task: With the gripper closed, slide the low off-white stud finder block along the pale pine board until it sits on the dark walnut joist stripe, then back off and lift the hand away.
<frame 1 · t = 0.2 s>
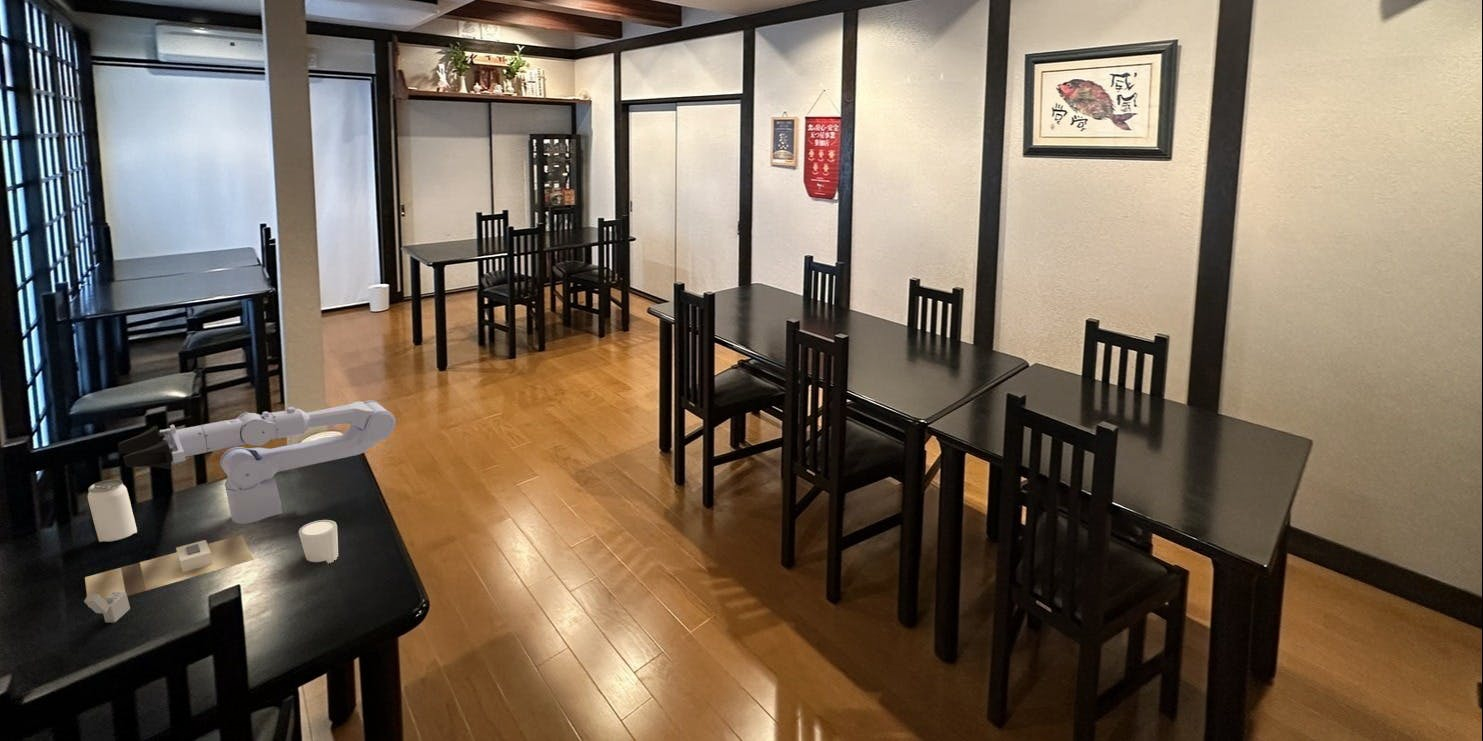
hand: (121, 455, 158), 21 cm above the table, tool horizontal, fingers open, 7 cm apart
lighter: (113, 626, 141), on the table
can: (118, 538, 169), on the table
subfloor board: (172, 572, 157), on the table
white cup: (322, 559, 163), on the table
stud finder: (195, 561, 159), point 1 cm above the table, touching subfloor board
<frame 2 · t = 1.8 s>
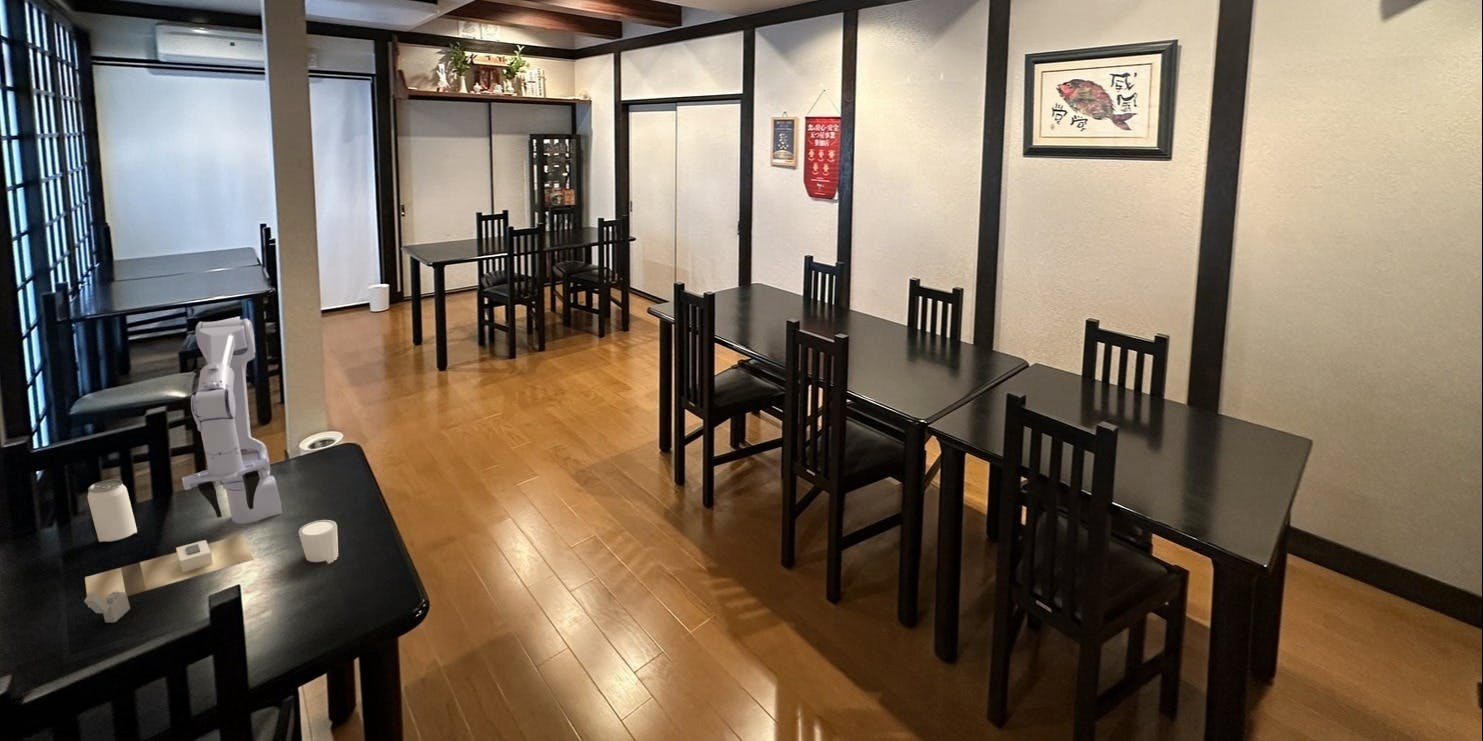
hand: (234, 511, 161), 9 cm above the table, tool pointing down, fingers open, 5 cm apart
nothing on the table moved.
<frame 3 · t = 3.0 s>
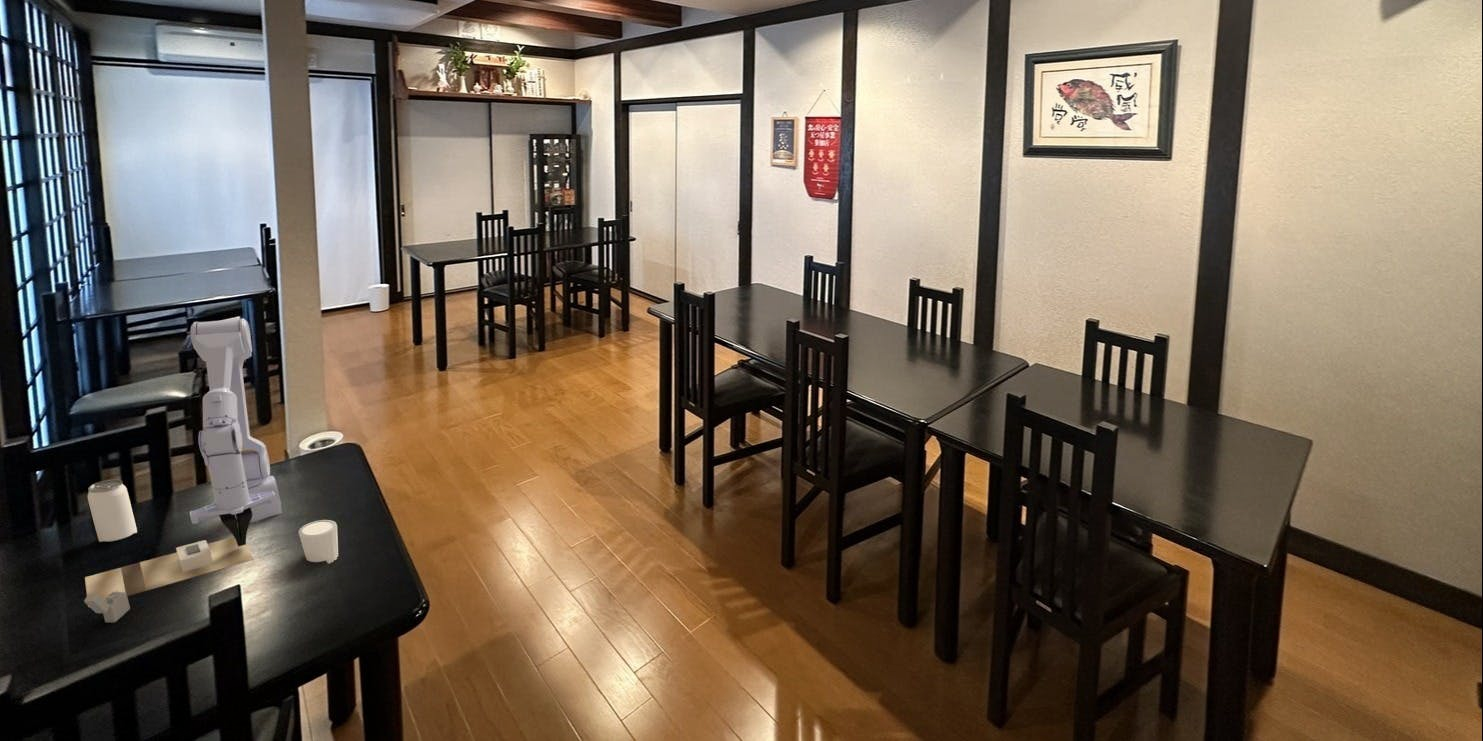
hand: (241, 543, 163), 2 cm above the table, tool pointing down, fingers closed
nothing on the table moved.
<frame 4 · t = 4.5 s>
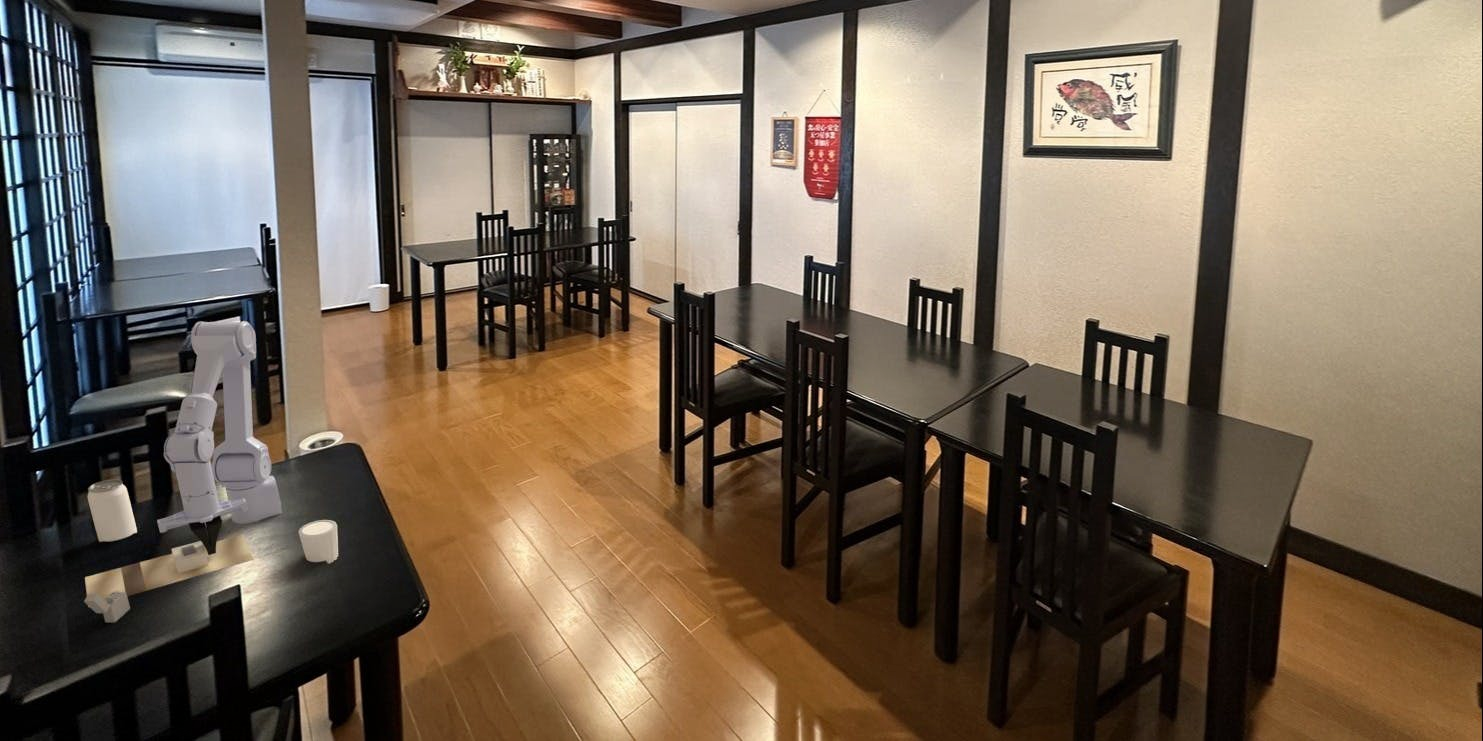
hand: (211, 552, 160), 2 cm above the table, tool pointing down, fingers closed
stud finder: (191, 562, 159), point 1 cm above the table, touching gripper
everything else where it was.
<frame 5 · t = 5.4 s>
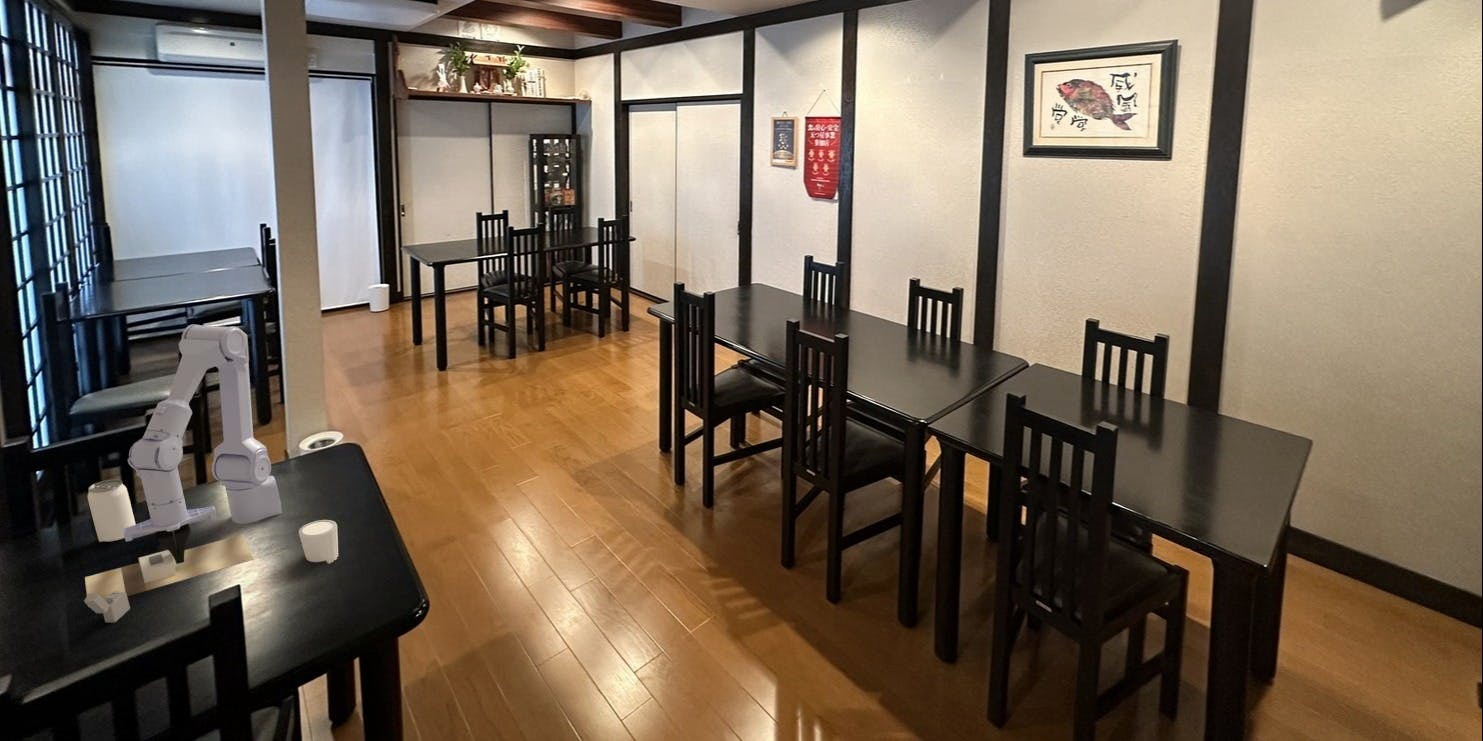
hand: (179, 560, 157), 2 cm above the table, tool pointing down, fingers closed
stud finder: (158, 571, 155), point 1 cm above the table, touching gripper, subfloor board
everything else where it was.
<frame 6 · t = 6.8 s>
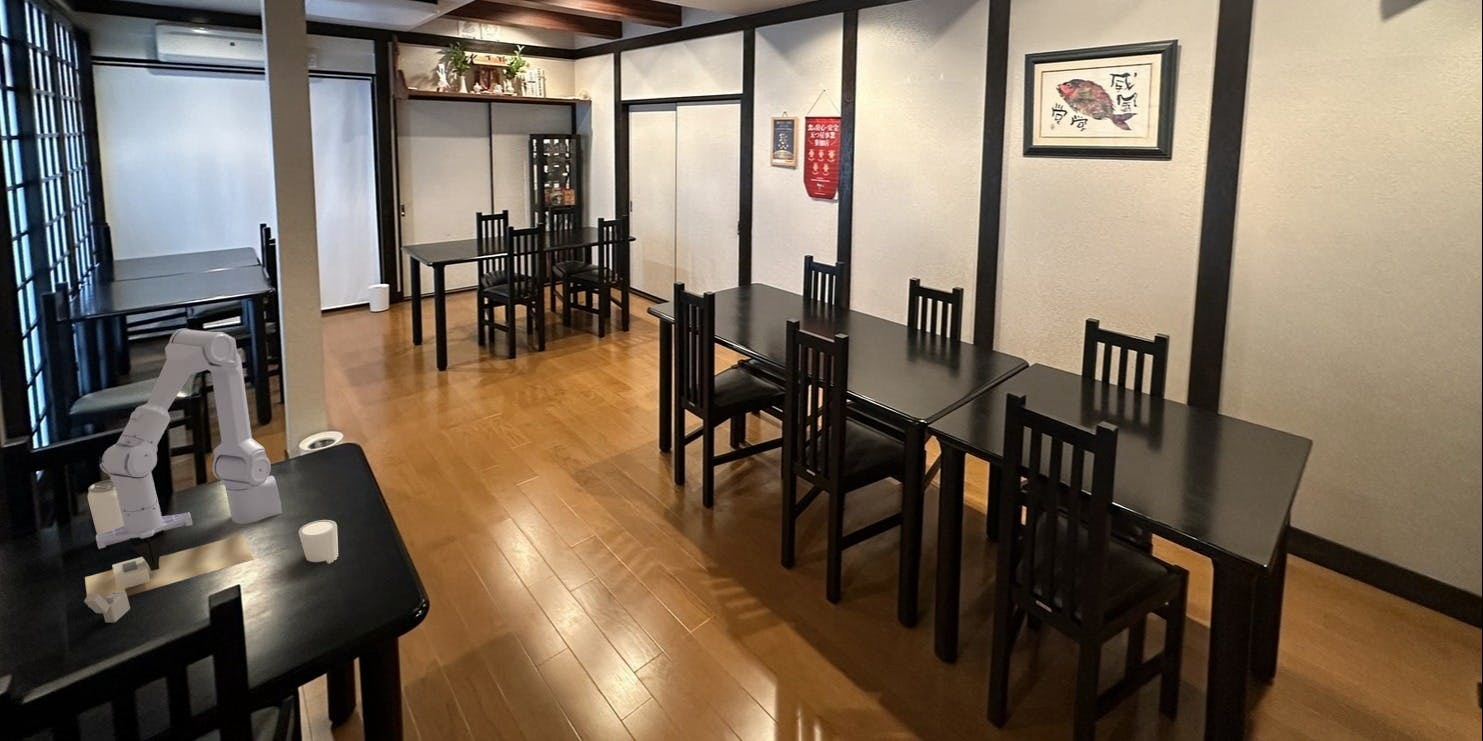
hand: (154, 567, 155), 2 cm above the table, tool pointing down, fingers closed
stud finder: (132, 578, 153), point 1 cm above the table, touching gripper, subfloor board
everything else where it was.
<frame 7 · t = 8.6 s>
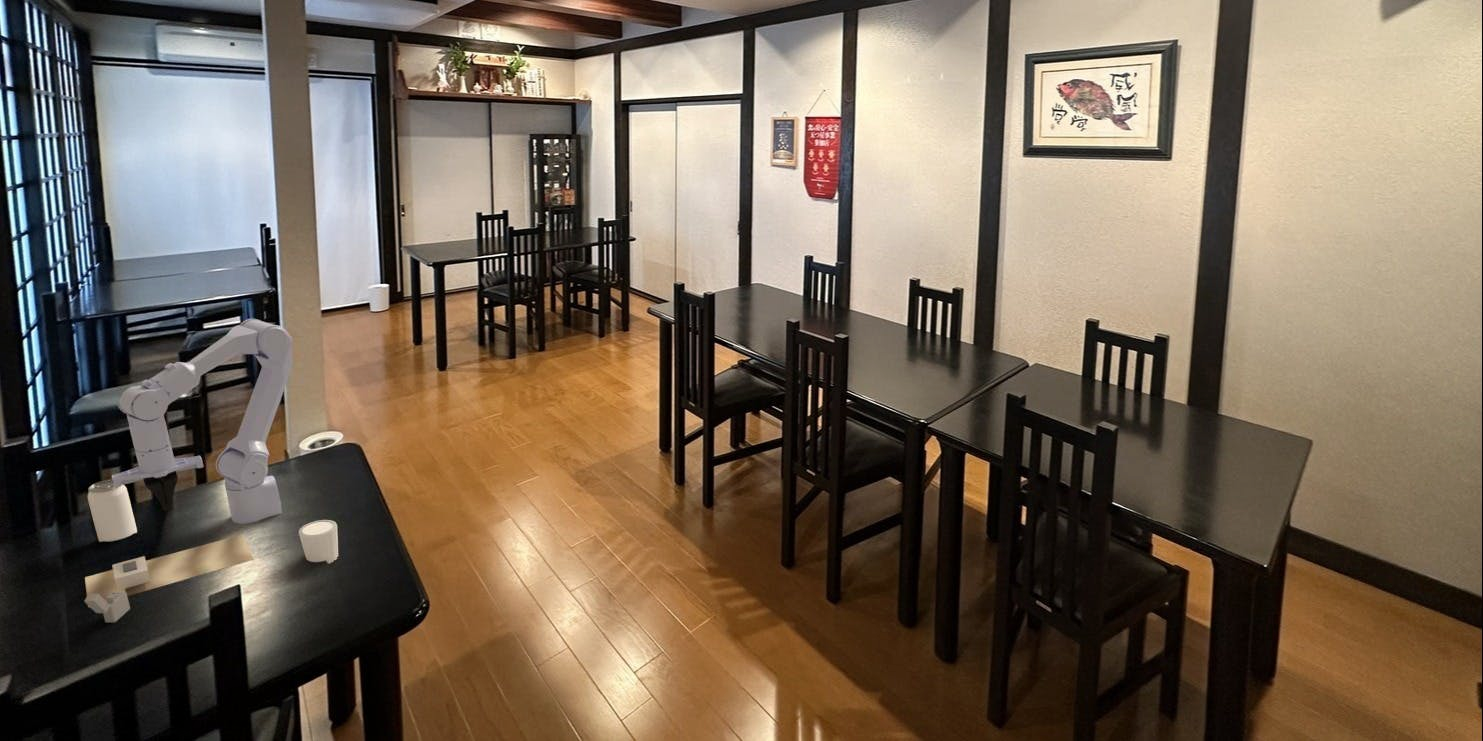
hand: (167, 508, 162), 9 cm above the table, tool pointing down, fingers closed
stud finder: (132, 578, 153), point 1 cm above the table, touching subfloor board
everything else where it was.
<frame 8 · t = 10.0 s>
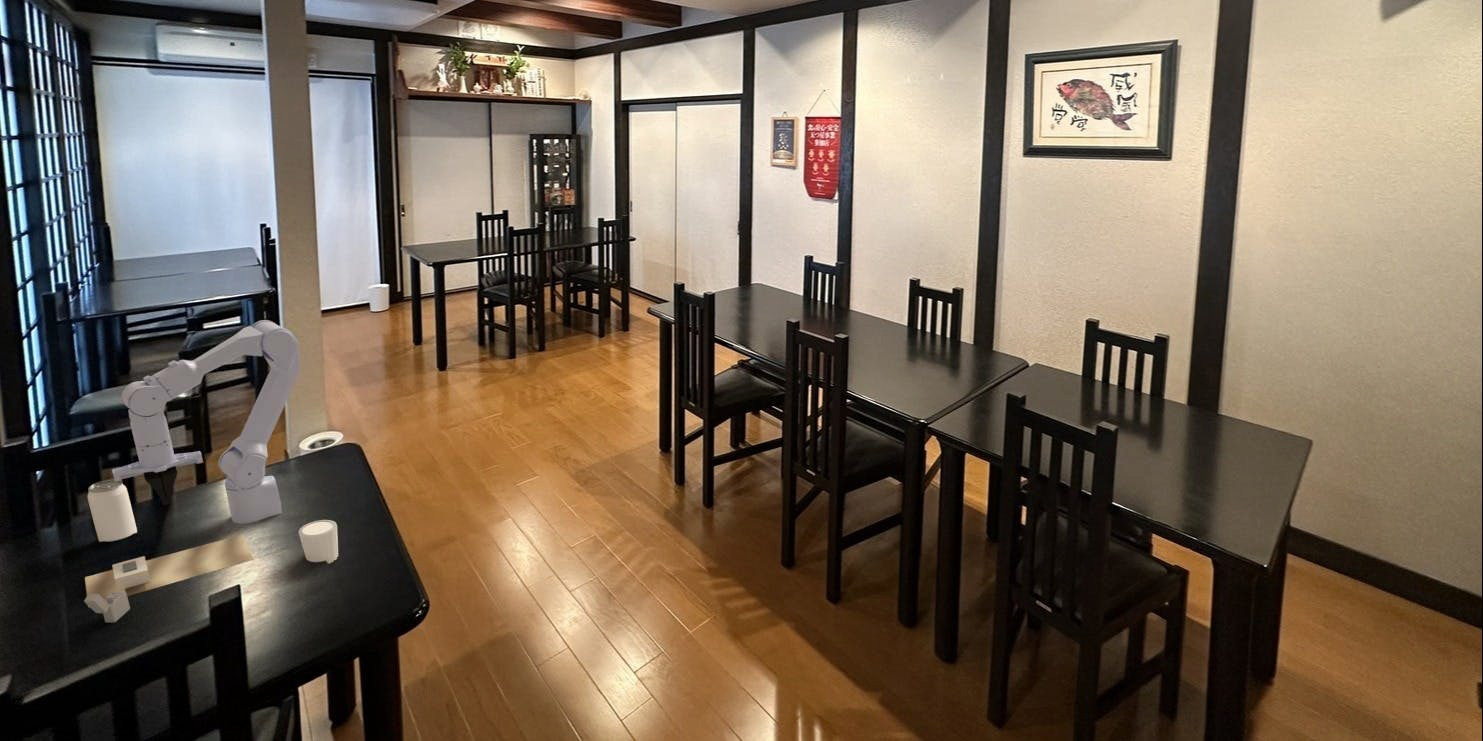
hand: (167, 502, 164), 9 cm above the table, tool pointing down, fingers closed
nothing on the table moved.
at the end: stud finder 0.1 cm from the target spot, point 1.0 cm above the table; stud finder tilted 0°; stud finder moved 10.1 cm from its start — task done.
